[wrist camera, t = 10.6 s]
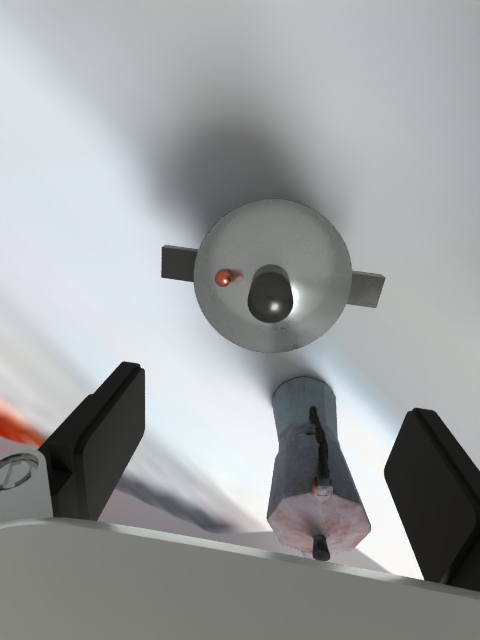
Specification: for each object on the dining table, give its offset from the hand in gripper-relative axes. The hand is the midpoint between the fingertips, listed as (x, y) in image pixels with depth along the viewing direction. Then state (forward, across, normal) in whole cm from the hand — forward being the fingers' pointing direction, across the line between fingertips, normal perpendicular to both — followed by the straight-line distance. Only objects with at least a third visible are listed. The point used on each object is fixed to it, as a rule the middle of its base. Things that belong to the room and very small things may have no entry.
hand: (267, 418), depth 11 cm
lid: (+19, 0, 0) cm, 19 cm away
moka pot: (+28, -7, +19) cm, 35 cm away
